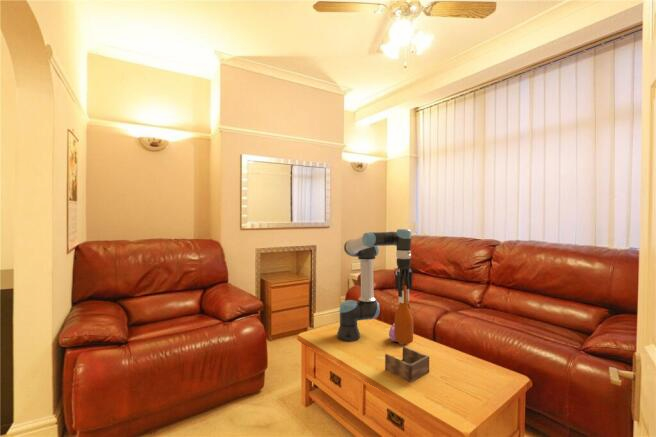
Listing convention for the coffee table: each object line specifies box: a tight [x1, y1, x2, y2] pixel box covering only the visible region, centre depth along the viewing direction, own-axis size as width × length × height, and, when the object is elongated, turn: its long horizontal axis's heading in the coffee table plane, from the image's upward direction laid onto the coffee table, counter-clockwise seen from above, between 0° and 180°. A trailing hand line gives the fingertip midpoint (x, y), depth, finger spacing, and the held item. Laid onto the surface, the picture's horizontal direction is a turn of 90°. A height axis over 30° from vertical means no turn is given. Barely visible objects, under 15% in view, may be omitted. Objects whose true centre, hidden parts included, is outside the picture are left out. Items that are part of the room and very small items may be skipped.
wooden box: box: [384, 346, 430, 383], centre depth 163 cm, size 16×16×8 cm
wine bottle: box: [393, 284, 414, 345], centre depth 167 cm, size 10×10×30 cm
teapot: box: [388, 323, 404, 346], centre depth 202 cm, size 20×14×12 cm
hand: (403, 301), depth 167 cm, fingers closed on wine bottle, 4 cm apart
